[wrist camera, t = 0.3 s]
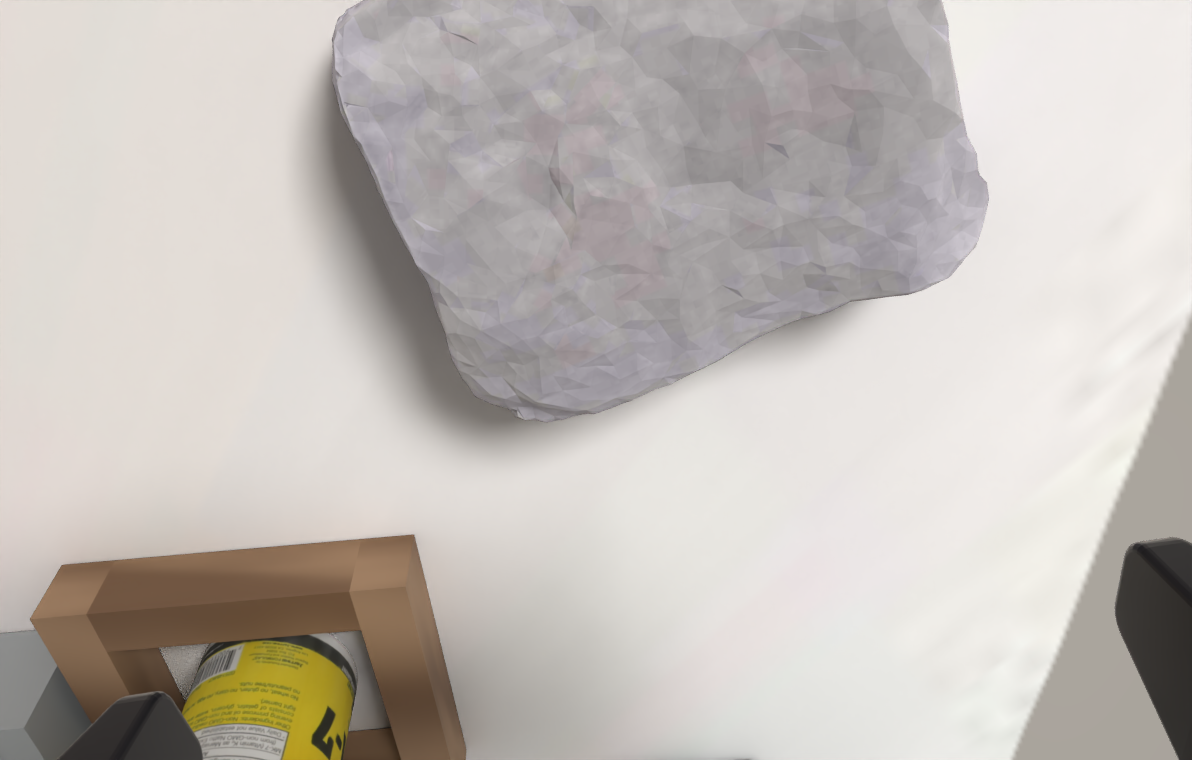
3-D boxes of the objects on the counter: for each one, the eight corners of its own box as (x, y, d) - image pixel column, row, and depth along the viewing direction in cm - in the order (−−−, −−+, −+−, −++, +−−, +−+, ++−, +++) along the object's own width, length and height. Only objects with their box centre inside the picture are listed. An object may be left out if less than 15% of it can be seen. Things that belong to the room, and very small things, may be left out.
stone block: (314, 8, 20) (509, 394, 24) (236, 9, 16) (489, 484, 20) (832, -244, 19) (962, 212, 22) (907, -320, 14) (1054, 265, 18)
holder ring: (466, 749, 32) (462, 803, 30) (175, 774, 32) (155, 830, 30) (414, 534, 26) (405, 586, 25) (62, 565, 26) (29, 619, 25)
